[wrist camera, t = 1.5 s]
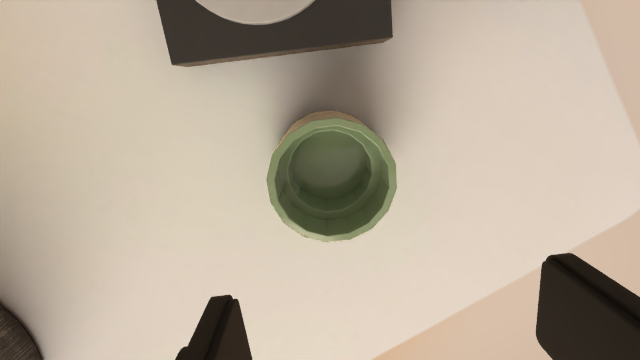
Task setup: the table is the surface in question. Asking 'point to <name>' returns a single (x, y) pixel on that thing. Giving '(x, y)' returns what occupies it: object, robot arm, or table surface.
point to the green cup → (331, 177)
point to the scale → (268, 27)
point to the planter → (15, 340)
